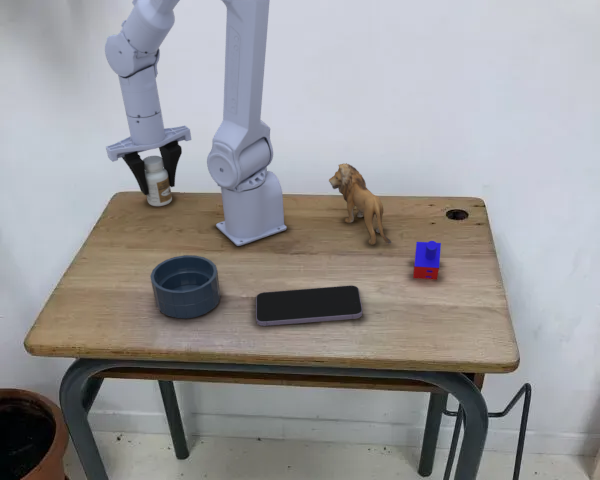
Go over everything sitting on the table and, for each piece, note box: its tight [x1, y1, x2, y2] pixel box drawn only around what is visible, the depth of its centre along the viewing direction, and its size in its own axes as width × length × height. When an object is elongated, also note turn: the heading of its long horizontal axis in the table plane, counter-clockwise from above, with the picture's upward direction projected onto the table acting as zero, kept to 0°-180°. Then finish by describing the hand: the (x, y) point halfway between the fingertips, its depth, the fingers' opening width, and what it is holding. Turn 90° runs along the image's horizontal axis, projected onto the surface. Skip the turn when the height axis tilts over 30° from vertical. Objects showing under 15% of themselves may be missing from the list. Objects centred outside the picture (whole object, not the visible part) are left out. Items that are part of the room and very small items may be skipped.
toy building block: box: [412, 240, 442, 281], centre depth 102 cm, size 4×4×8 cm
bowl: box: [149, 254, 222, 319], centre depth 100 cm, size 9×9×5 cm
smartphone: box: [255, 284, 363, 327], centre depth 99 cm, size 7×1×15 cm
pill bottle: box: [142, 155, 173, 207], centre depth 121 cm, size 4×4×8 cm
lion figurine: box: [328, 162, 392, 246], centre depth 112 cm, size 15×5×9 cm, turn 33°
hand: (158, 188), depth 123 cm, fingers closed on pill bottle, 4 cm apart
